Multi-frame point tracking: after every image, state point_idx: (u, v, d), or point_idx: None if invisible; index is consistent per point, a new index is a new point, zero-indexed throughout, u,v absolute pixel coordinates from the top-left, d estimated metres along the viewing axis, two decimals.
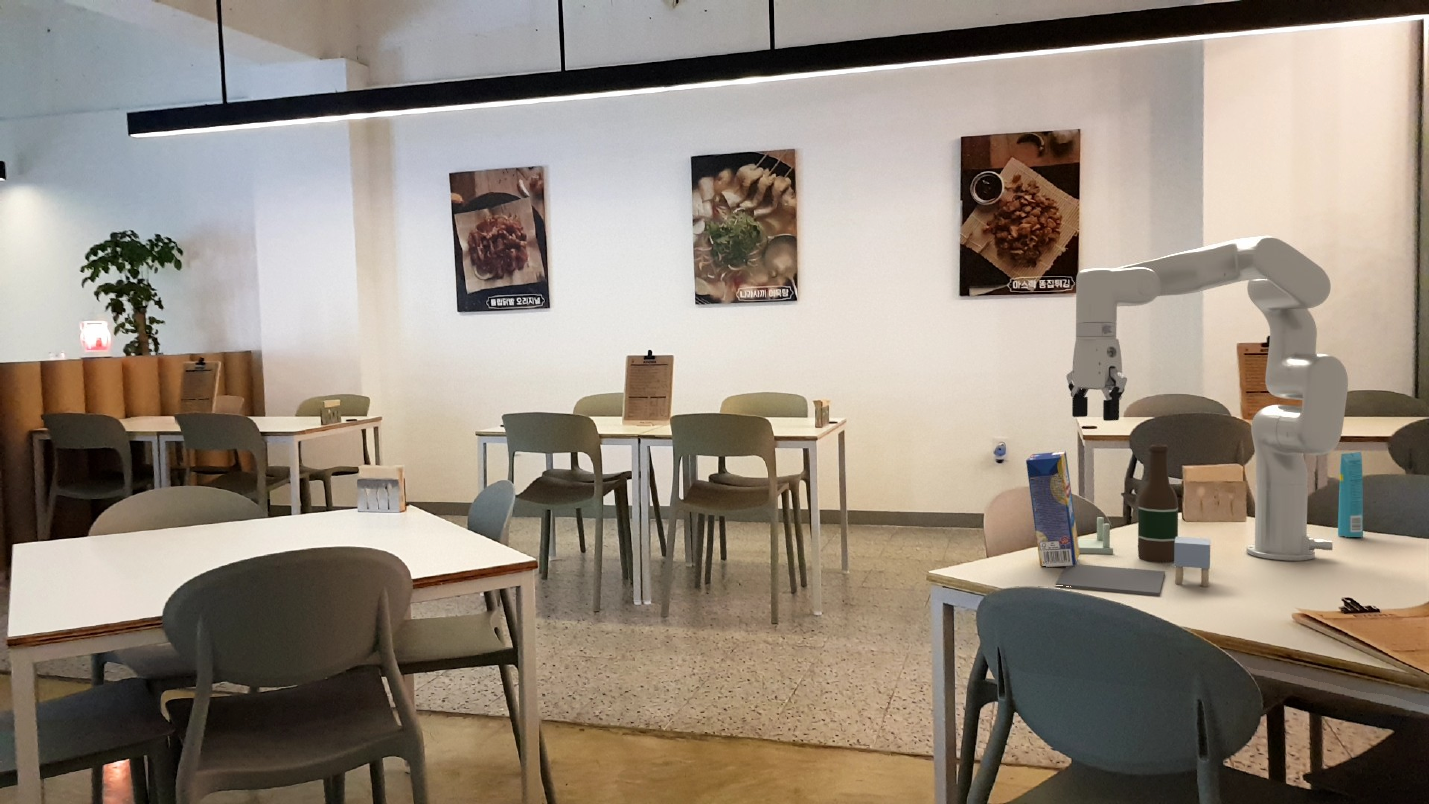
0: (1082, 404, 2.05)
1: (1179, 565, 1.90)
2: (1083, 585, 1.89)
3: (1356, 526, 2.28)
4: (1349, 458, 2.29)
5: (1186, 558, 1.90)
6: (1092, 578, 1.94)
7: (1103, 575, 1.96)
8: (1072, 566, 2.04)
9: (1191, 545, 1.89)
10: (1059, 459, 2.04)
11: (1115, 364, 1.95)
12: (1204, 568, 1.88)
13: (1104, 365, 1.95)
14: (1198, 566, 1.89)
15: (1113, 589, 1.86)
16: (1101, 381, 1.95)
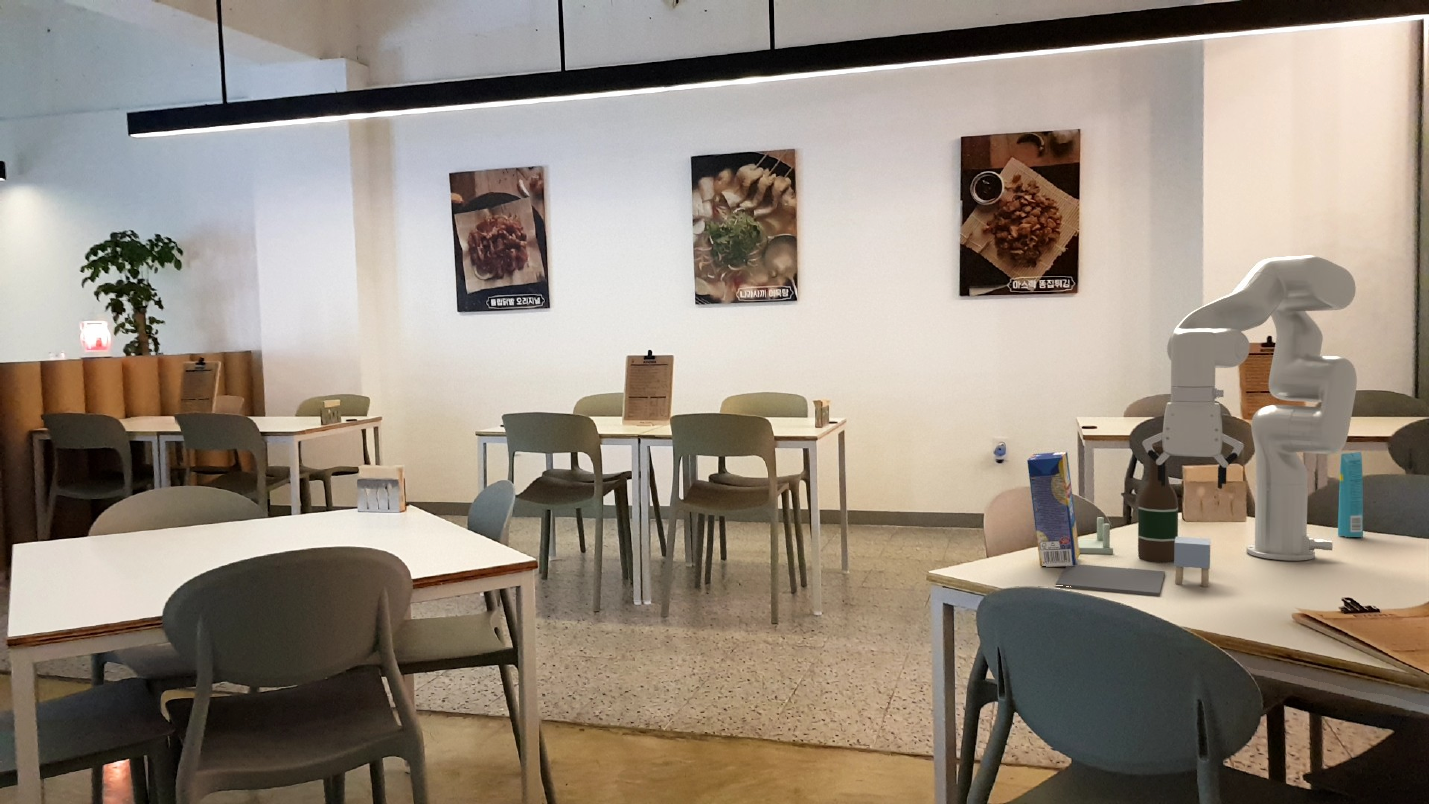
0: None
1: (1179, 565, 1.90)
2: (1083, 585, 1.89)
3: (1356, 526, 2.28)
4: (1349, 458, 2.29)
5: (1186, 558, 1.90)
6: (1092, 578, 1.94)
7: (1103, 575, 1.96)
8: (1072, 566, 2.04)
9: (1191, 545, 1.89)
10: (1060, 459, 2.04)
11: None
12: (1204, 568, 1.88)
13: (1220, 431, 1.87)
14: (1198, 566, 1.89)
15: (1113, 589, 1.86)
16: (1218, 448, 1.87)
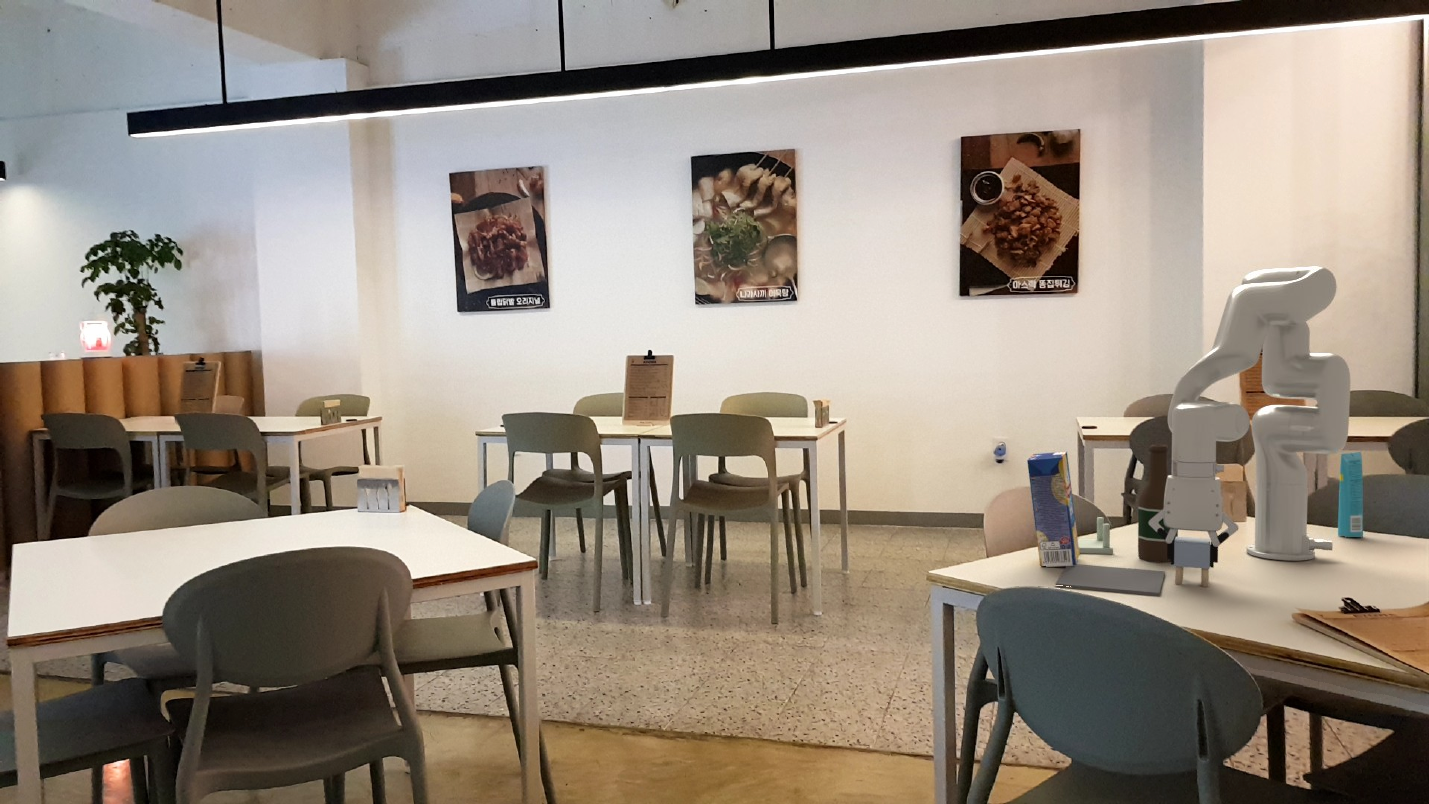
0: None
1: (1179, 565, 1.90)
2: (1083, 585, 1.89)
3: (1356, 526, 2.28)
4: (1349, 458, 2.29)
5: (1186, 558, 1.90)
6: (1092, 578, 1.94)
7: (1103, 575, 1.96)
8: (1072, 566, 2.04)
9: (1191, 545, 1.89)
10: (1060, 459, 2.04)
11: None
12: (1204, 568, 1.88)
13: (1221, 507, 1.88)
14: (1198, 566, 1.89)
15: (1113, 589, 1.86)
16: (1219, 523, 1.88)
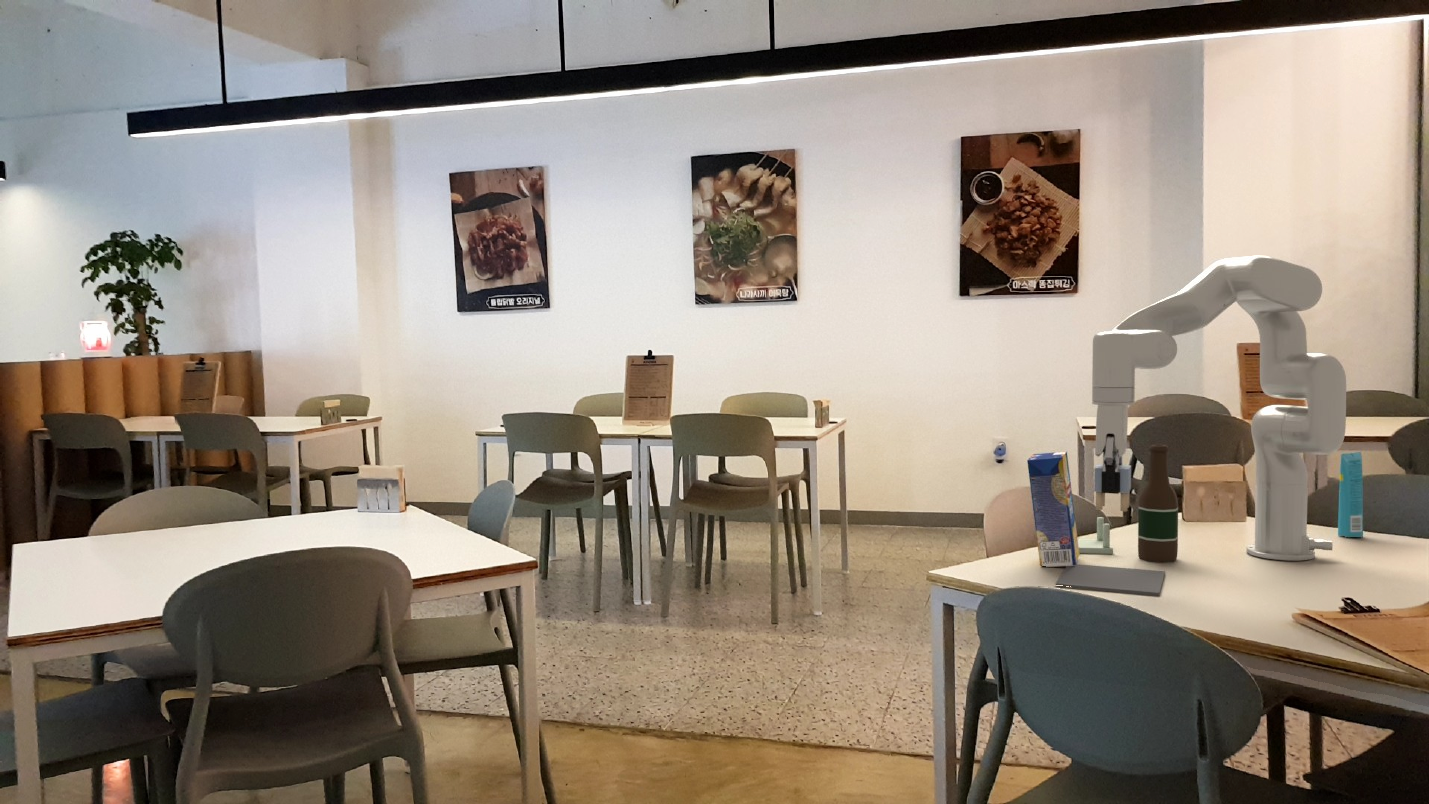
0: None
1: (1128, 491, 1.90)
2: (1083, 585, 1.89)
3: (1356, 526, 2.28)
4: (1349, 458, 2.29)
5: (1129, 482, 1.91)
6: (1092, 578, 1.94)
7: (1103, 575, 1.96)
8: (1072, 566, 2.04)
9: (1129, 469, 1.92)
10: (1060, 459, 2.04)
11: None
12: None
13: None
14: None
15: (1113, 589, 1.86)
16: None
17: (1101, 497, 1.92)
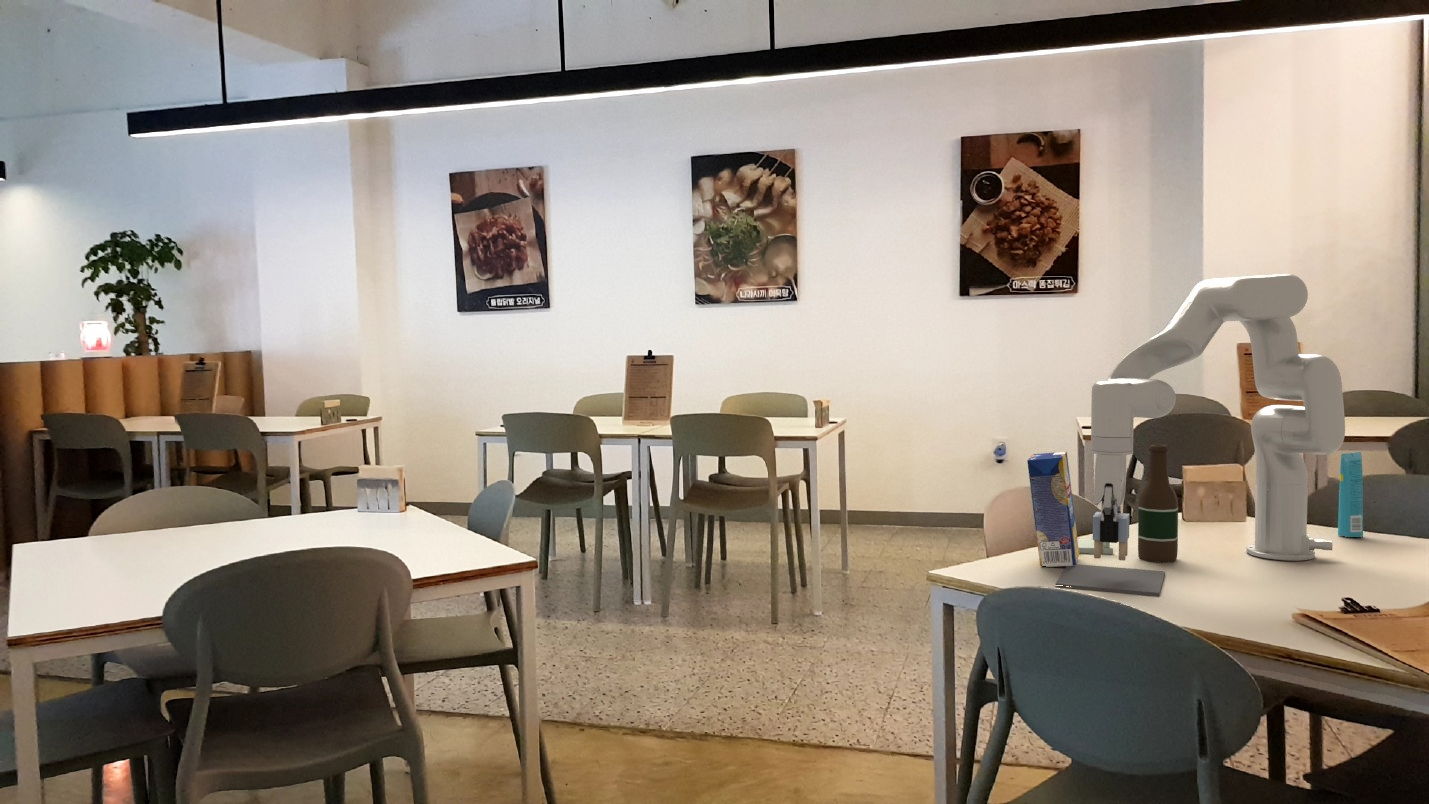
0: None
1: (1126, 540, 1.91)
2: (1083, 585, 1.89)
3: (1356, 526, 2.28)
4: (1349, 458, 2.29)
5: (1127, 532, 1.92)
6: (1092, 578, 1.94)
7: (1103, 575, 1.96)
8: (1072, 566, 2.04)
9: (1128, 517, 1.93)
10: (1060, 459, 2.04)
11: None
12: (1128, 537, 1.95)
13: None
14: (1128, 536, 1.94)
15: (1113, 589, 1.86)
16: None
17: (1099, 546, 1.93)
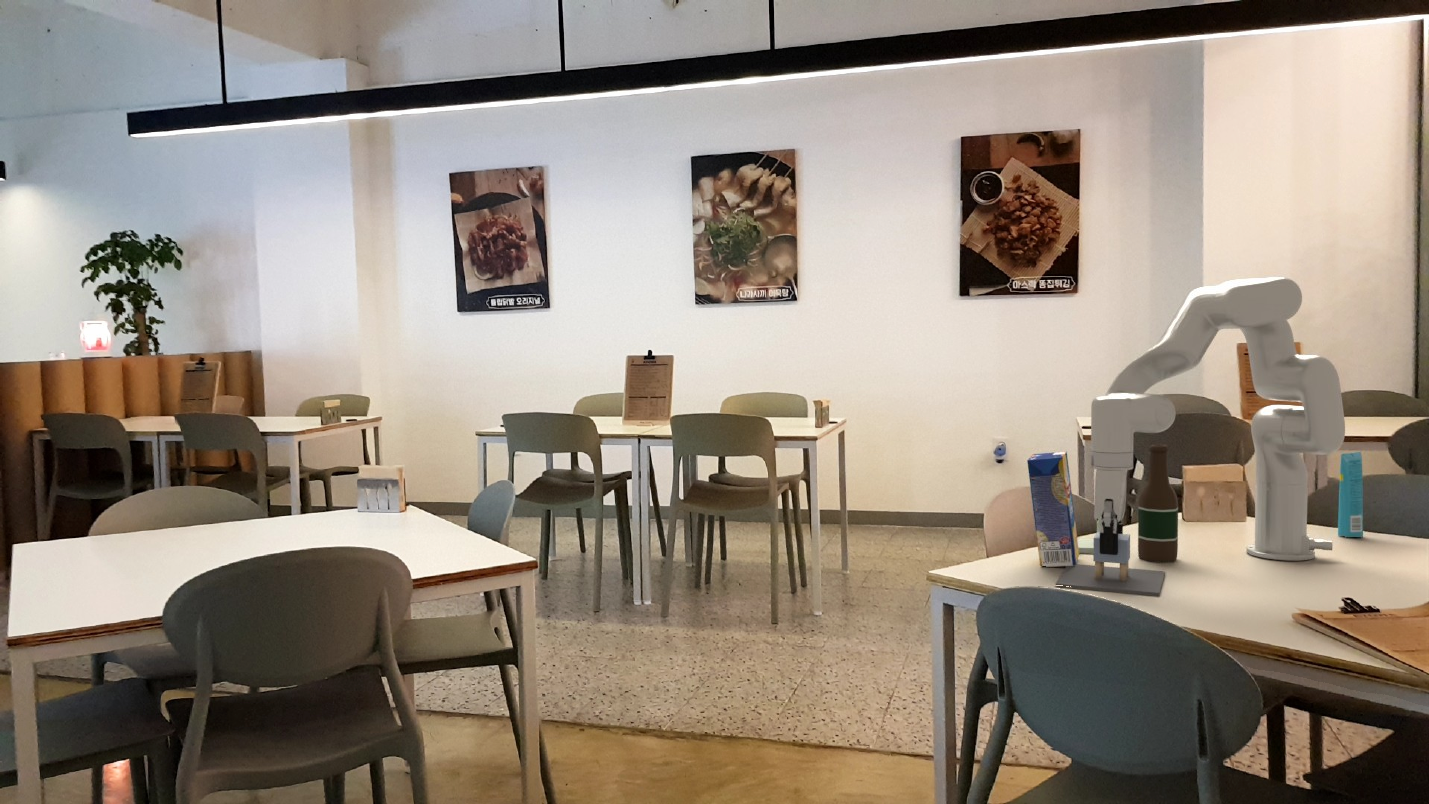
0: None
1: (1127, 561, 1.91)
2: (1083, 585, 1.89)
3: (1356, 526, 2.28)
4: (1349, 458, 2.29)
5: (1128, 553, 1.92)
6: (1092, 578, 1.94)
7: (1103, 575, 1.96)
8: (1072, 566, 2.04)
9: (1128, 539, 1.93)
10: (1060, 459, 2.04)
11: None
12: (1129, 558, 1.95)
13: None
14: (1129, 557, 1.94)
15: (1113, 589, 1.86)
16: None
17: (1100, 567, 1.93)
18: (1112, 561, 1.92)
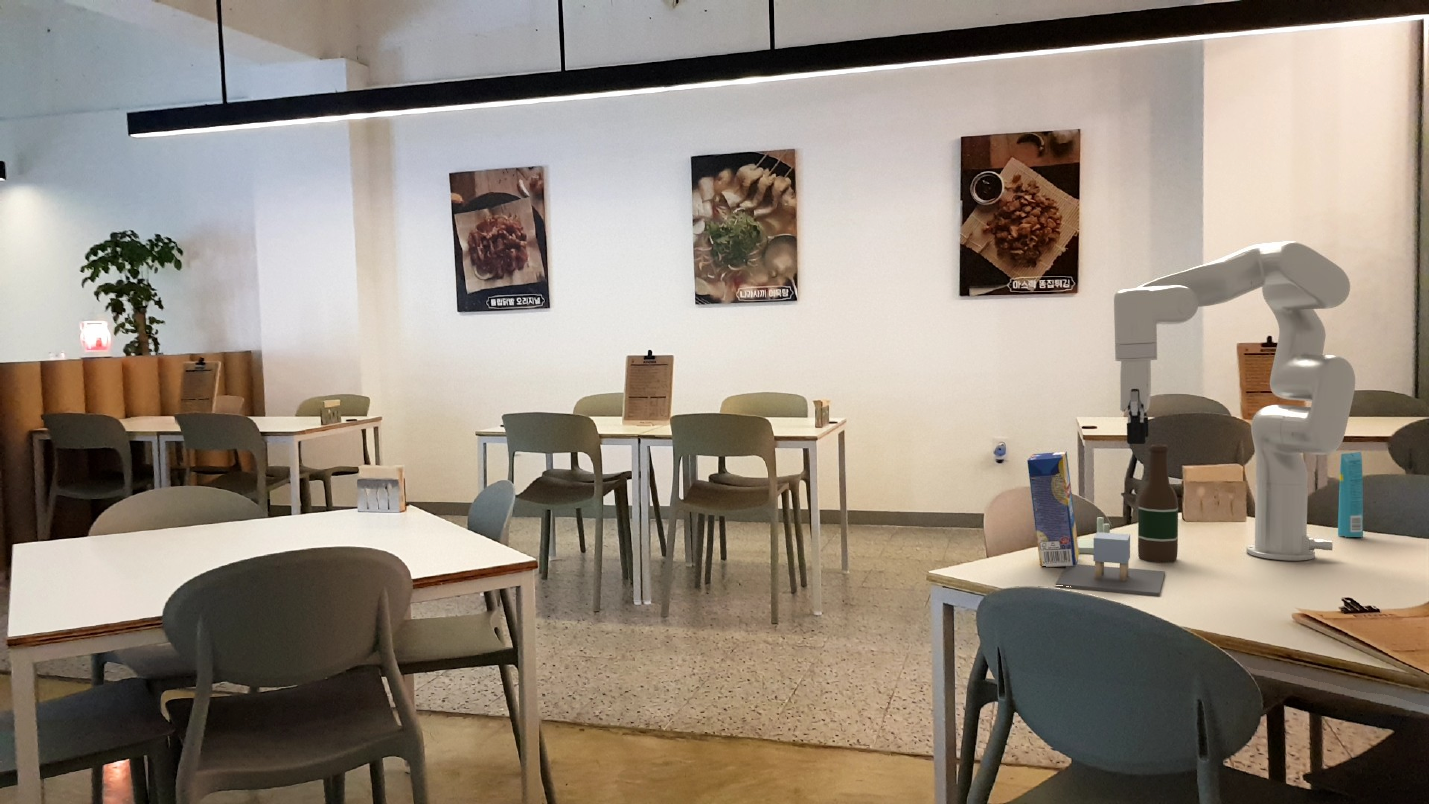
0: None
1: (1127, 561, 1.91)
2: (1083, 585, 1.89)
3: (1356, 526, 2.28)
4: (1349, 458, 2.29)
5: (1128, 553, 1.92)
6: (1092, 578, 1.94)
7: (1103, 575, 1.96)
8: (1072, 566, 2.04)
9: (1128, 539, 1.93)
10: (1060, 459, 2.04)
11: None
12: (1129, 558, 1.95)
13: None
14: (1129, 557, 1.94)
15: (1113, 589, 1.86)
16: None
17: (1100, 567, 1.93)
18: (1112, 561, 1.92)
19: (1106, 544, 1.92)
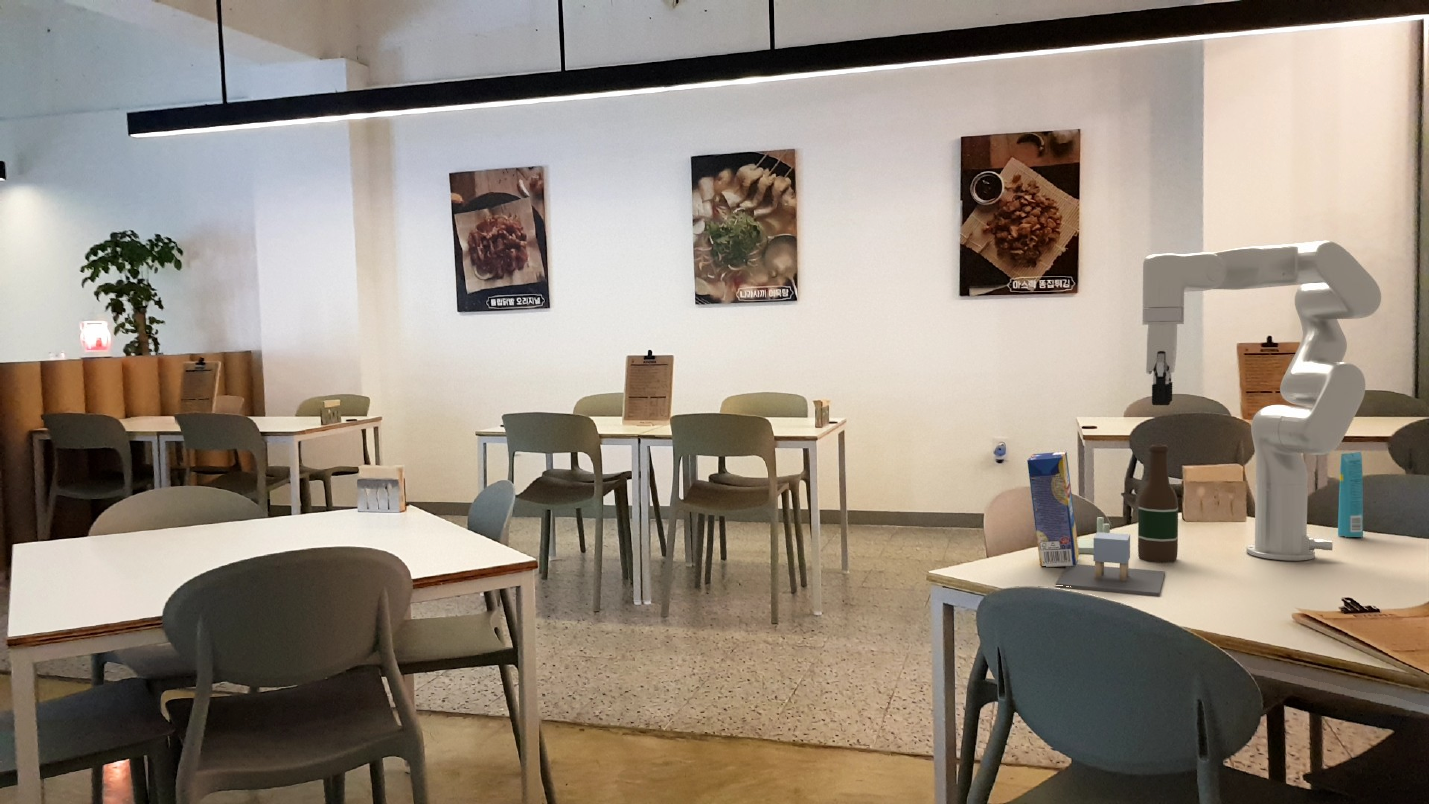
0: None
1: (1127, 561, 1.91)
2: (1083, 585, 1.89)
3: (1356, 526, 2.28)
4: (1349, 458, 2.29)
5: (1128, 553, 1.92)
6: (1092, 578, 1.94)
7: (1103, 575, 1.96)
8: (1072, 566, 2.04)
9: (1128, 539, 1.93)
10: (1060, 459, 2.04)
11: None
12: (1129, 558, 1.95)
13: None
14: (1129, 557, 1.94)
15: (1113, 589, 1.86)
16: None
17: (1100, 567, 1.93)
18: (1112, 561, 1.92)
19: (1106, 544, 1.92)
